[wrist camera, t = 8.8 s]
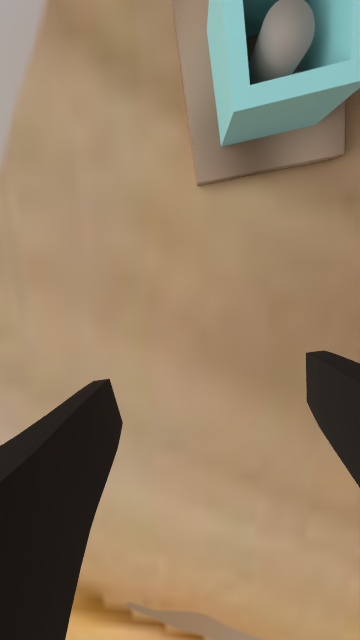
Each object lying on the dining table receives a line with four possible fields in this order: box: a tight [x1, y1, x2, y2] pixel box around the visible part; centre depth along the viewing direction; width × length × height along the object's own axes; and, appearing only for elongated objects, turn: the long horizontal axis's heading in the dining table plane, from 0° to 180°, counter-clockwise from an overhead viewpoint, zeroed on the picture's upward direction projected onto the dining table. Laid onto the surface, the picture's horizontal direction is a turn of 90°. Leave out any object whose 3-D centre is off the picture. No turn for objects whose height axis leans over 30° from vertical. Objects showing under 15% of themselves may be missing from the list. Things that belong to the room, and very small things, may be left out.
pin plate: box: [172, 0, 345, 186], centre depth 12 cm, size 8×8×4 cm
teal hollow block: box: [207, 0, 360, 147], centre depth 11 cm, size 5×5×4 cm
